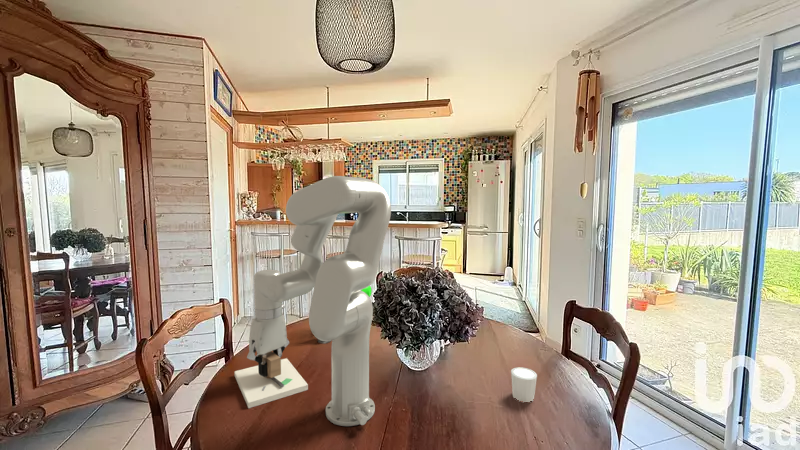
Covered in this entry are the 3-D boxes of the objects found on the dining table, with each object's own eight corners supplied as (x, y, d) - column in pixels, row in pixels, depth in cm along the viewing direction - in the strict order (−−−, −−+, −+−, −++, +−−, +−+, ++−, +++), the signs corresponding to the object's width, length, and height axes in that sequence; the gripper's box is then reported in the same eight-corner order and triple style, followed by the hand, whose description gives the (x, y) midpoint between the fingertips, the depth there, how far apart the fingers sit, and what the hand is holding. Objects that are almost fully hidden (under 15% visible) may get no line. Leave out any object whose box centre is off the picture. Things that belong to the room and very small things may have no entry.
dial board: (307, 389, 100) (307, 384, 100) (248, 408, 91) (248, 402, 91) (286, 362, 116) (286, 357, 116) (234, 376, 107) (234, 370, 107)
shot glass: (519, 405, 93) (520, 380, 92) (505, 392, 100) (506, 368, 99) (541, 402, 95) (542, 377, 94) (526, 388, 101) (527, 365, 101)
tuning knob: (259, 373, 105) (258, 352, 105) (268, 370, 107) (268, 349, 107) (277, 389, 97) (277, 365, 96) (287, 385, 99) (287, 362, 98)
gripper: (284, 303, 111) (285, 358, 112) (234, 317, 97) (236, 380, 99) (299, 307, 107) (300, 365, 108) (249, 323, 93) (251, 389, 94)
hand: (269, 372), depth 103 cm, fingers closed on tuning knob, 3 cm apart
